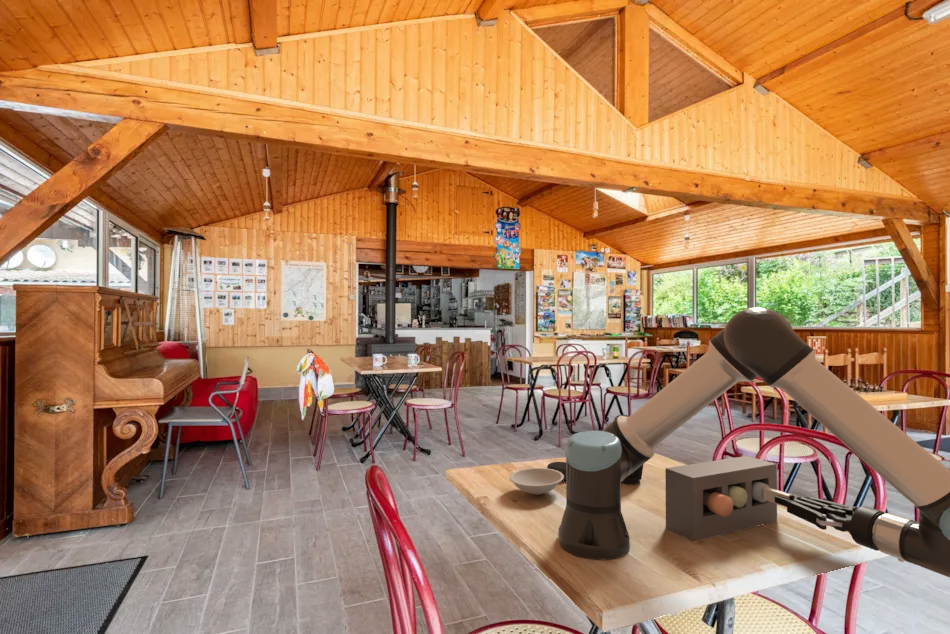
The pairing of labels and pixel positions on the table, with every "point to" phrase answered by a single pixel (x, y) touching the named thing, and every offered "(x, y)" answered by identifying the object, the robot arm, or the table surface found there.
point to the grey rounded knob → (757, 490)
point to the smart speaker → (558, 467)
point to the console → (696, 479)
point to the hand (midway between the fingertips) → (765, 493)
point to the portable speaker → (634, 476)
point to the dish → (536, 480)
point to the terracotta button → (718, 503)
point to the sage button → (737, 495)
